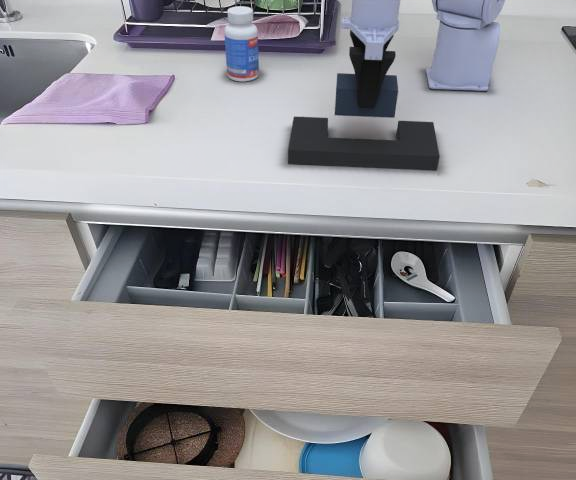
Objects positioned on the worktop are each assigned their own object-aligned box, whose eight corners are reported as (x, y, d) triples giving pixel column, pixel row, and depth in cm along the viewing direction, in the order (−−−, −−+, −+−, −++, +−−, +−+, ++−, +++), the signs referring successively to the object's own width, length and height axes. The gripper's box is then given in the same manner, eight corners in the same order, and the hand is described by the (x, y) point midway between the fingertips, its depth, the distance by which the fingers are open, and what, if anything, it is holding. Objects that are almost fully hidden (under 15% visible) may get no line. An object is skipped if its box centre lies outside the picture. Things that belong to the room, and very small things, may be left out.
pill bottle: (254, 83, 96) (252, 17, 89) (223, 81, 97) (218, 14, 89) (262, 71, 100) (260, 5, 92) (232, 68, 100) (227, 3, 93)
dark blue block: (393, 101, 81) (396, 75, 78) (394, 117, 77) (398, 90, 75) (335, 99, 81) (337, 73, 78) (334, 115, 78) (336, 88, 75)
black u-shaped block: (430, 135, 84) (433, 121, 83) (436, 170, 78) (439, 156, 76) (293, 130, 85) (293, 116, 84) (288, 163, 79) (288, 149, 77)
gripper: (345, -40, 73) (337, 75, 83) (343, -4, 63) (335, 120, 74) (401, -38, 73) (387, 77, 83) (408, -2, 63) (390, 123, 73)
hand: (366, 98), depth 78 cm, fingers closed on dark blue block, 5 cm apart
